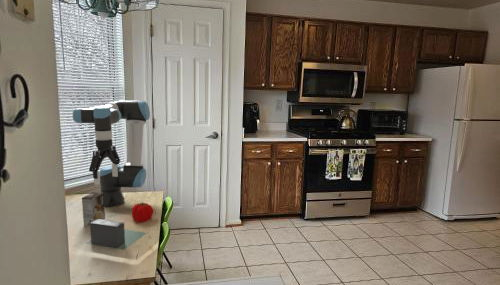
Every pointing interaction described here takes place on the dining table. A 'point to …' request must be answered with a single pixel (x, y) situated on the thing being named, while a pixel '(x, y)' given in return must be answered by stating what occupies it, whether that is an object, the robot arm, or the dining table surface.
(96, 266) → the dining table surface
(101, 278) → the dining table surface
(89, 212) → the coffee box
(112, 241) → the housing
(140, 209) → the tomato
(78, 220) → the dining table surface
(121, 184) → the robot arm
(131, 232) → the board
